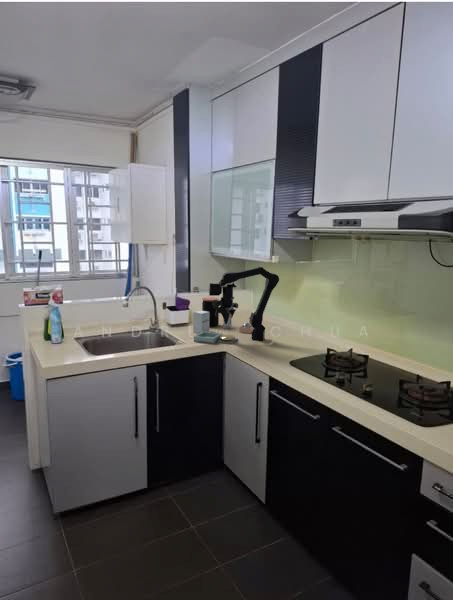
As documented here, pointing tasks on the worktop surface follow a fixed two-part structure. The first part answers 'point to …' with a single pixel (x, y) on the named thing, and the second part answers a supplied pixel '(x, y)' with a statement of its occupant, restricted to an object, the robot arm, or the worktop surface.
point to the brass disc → (227, 337)
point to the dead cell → (247, 325)
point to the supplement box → (200, 321)
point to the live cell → (228, 323)
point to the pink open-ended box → (245, 329)
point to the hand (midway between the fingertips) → (227, 323)
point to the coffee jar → (211, 310)
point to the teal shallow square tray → (207, 337)
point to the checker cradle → (227, 341)
